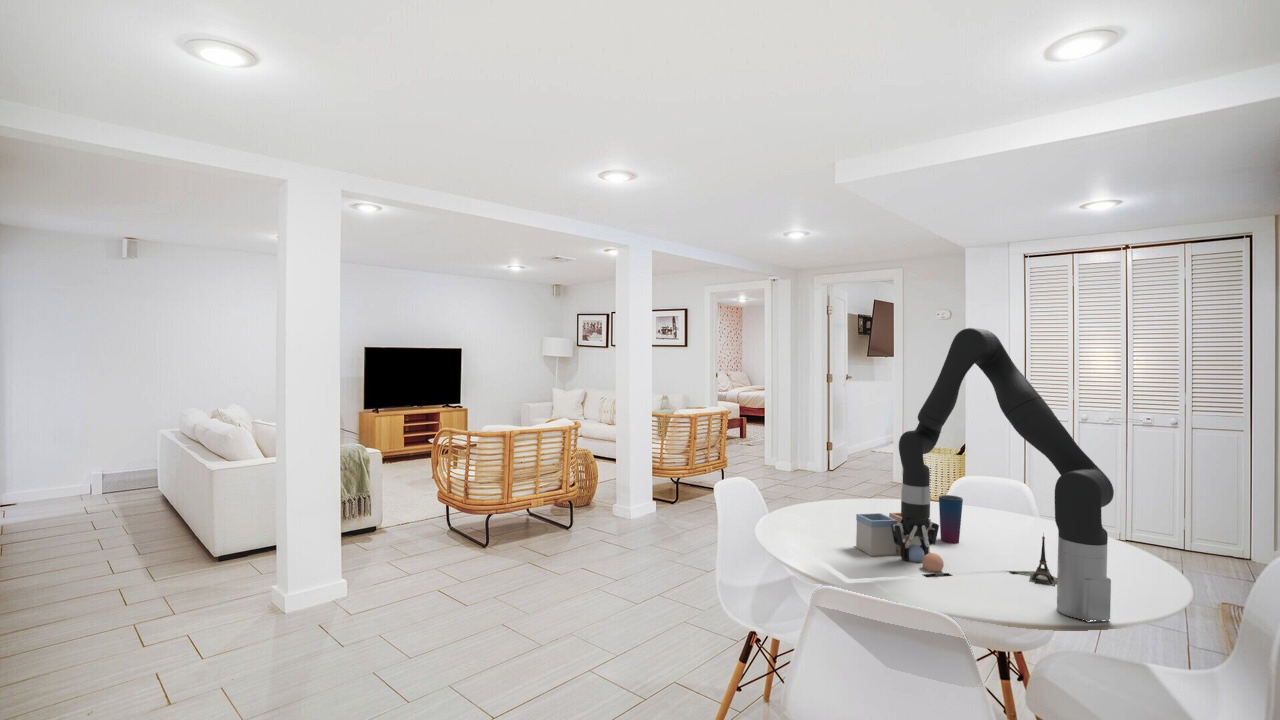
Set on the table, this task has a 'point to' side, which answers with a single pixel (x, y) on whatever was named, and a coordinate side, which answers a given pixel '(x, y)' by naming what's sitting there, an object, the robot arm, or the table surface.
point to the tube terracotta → (915, 539)
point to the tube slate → (875, 534)
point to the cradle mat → (935, 574)
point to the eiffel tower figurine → (1040, 571)
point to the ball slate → (915, 553)
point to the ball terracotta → (933, 562)
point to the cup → (950, 518)
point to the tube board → (882, 555)
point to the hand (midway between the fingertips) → (914, 559)
